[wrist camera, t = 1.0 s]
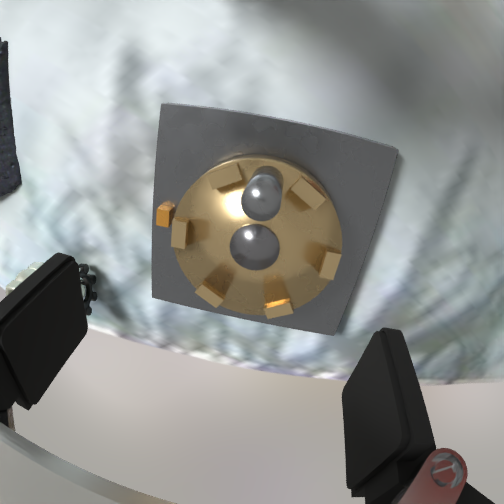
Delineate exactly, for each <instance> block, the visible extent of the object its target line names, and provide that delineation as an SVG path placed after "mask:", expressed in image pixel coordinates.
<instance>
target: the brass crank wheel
mask: <svg viewBox="0 0 504 504" xmlns="http://www.w3.org/2000/svg"><path fill="white" fill-rule="evenodd" d="M171 247H174V251H175V255H176V258H177V261H178V263H179V265H180V268H181V269H182V271H183V273H184V274H185V276H186V277H187V279H188V280H189V281H190V282H191V284H192V285H193V286H194V287H195V288H196V291H195V293H196V294H197V295H199V296H200V297H201V298H203V299H204V300H206V301H207V302H208V303H210V304H211V305H212V306H214V307H215V308H217V307H218V306H219V305H220V306H222V307H224V308H227V309H229V310H232V311H236V312H239V313H244V314H250V315H266V316H267V318H268V319H270V318H275V317H279V316H284V315H288V314H293V313H294V309H296V308H298V307H300V306H302V305H304V304H306V303H308V302H309V301H311V300H312V299H313V298H315V297H316V296H317V295H318V294H319V293H320V292H321V291H322V290H323V289H324V288H325V287H326V286H327V285H328V283H329V282H330V280H333V279H334V276H335V273H336V270H337V267H338V264H339V261H340V258H341V255H342V254H341V251H342V232H341V227H340V222H339V219H338V216H337V213H336V210H335V207H334V205H333V202H332V200H331V198H330V196H329V194H328V192H327V191H326V190H325V188H324V187H323V186H322V184H321V183H320V182H319V181H318V180H317V179H316V178H315V177H314V176H313V175H312V174H310V173H309V172H308V171H307V170H305V169H304V168H302V167H300V166H299V165H297V164H295V163H293V162H291V161H288V160H286V159H283V158H279V157H275V156H270V155H262V154H251V155H243V156H238V157H234V158H231V159H228V160H226V161H223V162H221V163H219V164H217V165H216V166H214V167H212V168H211V169H209V170H208V171H207V172H206V173H205V174H203V175H202V176H201V177H200V178H199V179H198V180H197V181H196V182H195V183H193V185H192V186H191V187H190V188H189V189H188V190H187V191H186V193H185V194H184V196H183V198H182V199H181V201H180V203H179V205H178V207H177V210H176V213H175V216H174V219H173V220H172V237H171Z"/></svg>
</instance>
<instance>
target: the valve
mask: <svg viewBox="0 0 504 504" xmlns="http://www.w3.org/2000/svg"><path fill="white" fill-rule="evenodd" d="M43 264H44V263H42V262H34V263H32V264H31V265H30V266H29V267H28V269H24V270H22V271H21V272H20V273H19V274H18V275H17V276H16V278H15V280H13V281H11V282H10V283H9V284H8V285H7V286H6V296H7V295H8V294H9V293H11V292H12V291H13V290H14V289H15V288H16V287H17V286H18V285H19V284H21V283H22V282H23V281H24V280H25V279H26V278H27V277H28V276H30V275H31V274H32V273H33V272H34V271H35V270H37V269H38V268H39V267H40V266H41V265H43ZM78 266H79V268H81V270H80V272H79V274H80V277H81V278H82V280H80V281H81V288H82V295H83V297H84V295H85V287H84V286H83V285H86V296H85V299H84V307H85V313H86V315H88V316H89V315H91V313H92V309H91V307H90V306H89V304H90V301H96V300H97V293H96V292H93V291H92V285H93V284H95V283H96V276H95V275H90V274H88V275H87V273H88V271H89V266H88V265H87V264H79V265H78Z"/></svg>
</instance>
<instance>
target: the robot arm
mask: <svg viewBox="0 0 504 504" xmlns="http://www.w3.org/2000/svg"><path fill="white" fill-rule="evenodd" d="M87 329H88V324H87V319H86V313H85V307H84V301H83V295H82V288H81V281H80V274H79V266H78V264H77V263H76V262H75V259H74V257H72V256H69V255H66V254H62V253H56V254H55V255H53V256H52V257H51V258H50V259H49V260H47V261H46V262H45V263H44V264H43V265H41V266H40V267H39V268H38V269H37V270H35V271H34V272H33V273H32V274H31V275H30V276H28V277H27V278H26V279H25V280H24V281H23V282H22V283H21V284H19V285H18V286H17V287H16V288H15V289H14V290H13V291H12V292H11V293H9V294H8V295H7V296H6V297H5V298H4V299H3V300H2V301H1V302H0V504H176V503H172V502H169V501H166V500H163V499H159V498H156V497H153V496H150V495H147V494H144V493H141V492H138V491H135V490H132V489H129V488H127V487H124V486H121V485H119V484H116V483H114V482H111V481H109V480H106V479H104V478H102V477H99V476H97V475H95V474H92V473H90V472H88V471H86V470H84V469H81V468H79V467H77V466H75V465H73V464H71V463H69V462H67V461H65V460H63V459H61V458H59V457H57V456H55V455H54V454H51V453H50V452H48V451H46V450H44V449H43V448H41V447H39V446H37V445H36V444H34V443H32V442H30V441H29V440H27V439H26V438H24V437H22V436H21V435H19V434H17V433H16V432H15V426H14V418H13V409H12V405H13V404H14V402H15V401H16V403H17V404H18V405H20V406H22V407H23V408H25V409H27V410H29V409H30V408H31V406H32V405H33V404H37V403H38V402H39V400H40V399H41V397H42V396H43V394H44V393H45V391H46V390H47V388H48V387H49V385H50V384H51V382H52V381H53V380H54V378H55V377H56V375H57V374H58V372H59V371H60V370H61V368H62V367H63V365H64V364H65V362H66V361H67V360H68V358H69V357H70V355H71V354H72V353H73V351H74V350H75V349H76V347H77V346H78V345H79V343H80V342H81V340H82V339H83V338H84V336H85V335H86V333H87ZM342 406H343V419H344V435H345V454H346V481H347V482H346V483H347V488H348V489H351V491H352V492H351V493H352V497H365V504H495V503H493V502H492V501H491V500H489V499H488V498H487V497H485V496H484V495H483V494H481V493H480V492H479V491H477V490H476V489H475V488H473V487H472V486H471V485H469V484H468V483H467V482H466V479H467V466H466V463H465V461H464V460H463V458H462V457H461V456H460V455H459V454H458V453H457V452H455V451H453V450H451V449H448V448H441V449H437V450H436V445H435V441H434V437H433V433H432V429H431V425H430V421H429V417H428V414H427V410H426V406H425V403H424V400H423V396H422V392H421V389H420V385H419V382H418V379H417V376H416V373H415V370H414V366H413V363H412V360H411V357H410V354H409V351H408V348H407V345H406V342H405V339H404V336H403V334H402V332H401V331H400V330H396V329H390V328H382V329H381V330H380V331H376V332H375V333H374V334H373V336H372V338H371V340H370V342H369V344H368V346H367V348H366V349H365V351H364V353H363V355H362V357H361V359H360V360H359V362H358V364H357V366H356V368H355V369H354V371H353V373H352V375H351V376H350V378H349V380H348V381H347V383H346V385H345V386H344V389H343V392H342Z"/></svg>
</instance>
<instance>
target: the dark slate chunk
mask: <svg viewBox="0 0 504 504" xmlns="http://www.w3.org/2000/svg"><path fill="white" fill-rule="evenodd" d="M19 184H21V175H20V167H19V162H18V159H17V155H16V145H15V137H14V128H13V117H12V109H11V104H10V88H9V74H8V42H7V41H4V42H2V41H1V37H0V196H3V195H5V194H6V193H10V192H12V191H13V190H15V189H16V187H17V185H19Z"/></svg>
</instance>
